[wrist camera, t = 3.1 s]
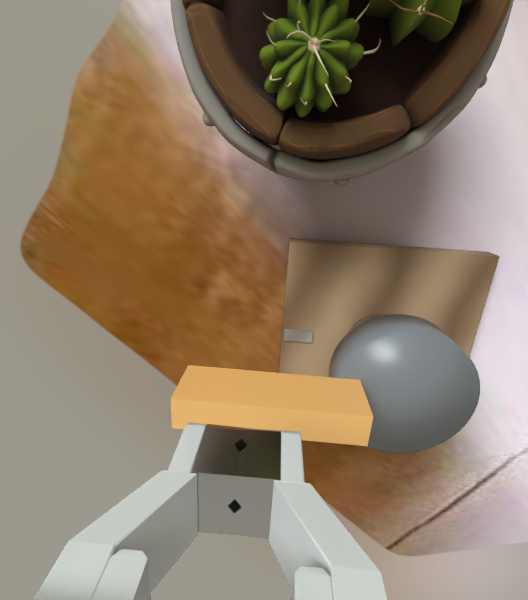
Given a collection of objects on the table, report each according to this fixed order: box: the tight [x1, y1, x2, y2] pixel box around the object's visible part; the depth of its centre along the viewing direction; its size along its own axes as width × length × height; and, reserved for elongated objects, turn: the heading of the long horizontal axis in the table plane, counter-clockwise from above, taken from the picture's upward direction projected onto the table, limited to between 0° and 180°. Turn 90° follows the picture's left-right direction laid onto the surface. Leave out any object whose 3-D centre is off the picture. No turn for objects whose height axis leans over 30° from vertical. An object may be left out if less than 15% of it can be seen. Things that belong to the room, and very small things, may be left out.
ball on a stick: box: [171, 314, 480, 453], centre depth 22 cm, size 18×9×6 cm, turn 87°
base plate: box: [278, 239, 499, 377], centre depth 30 cm, size 16×16×2 cm
